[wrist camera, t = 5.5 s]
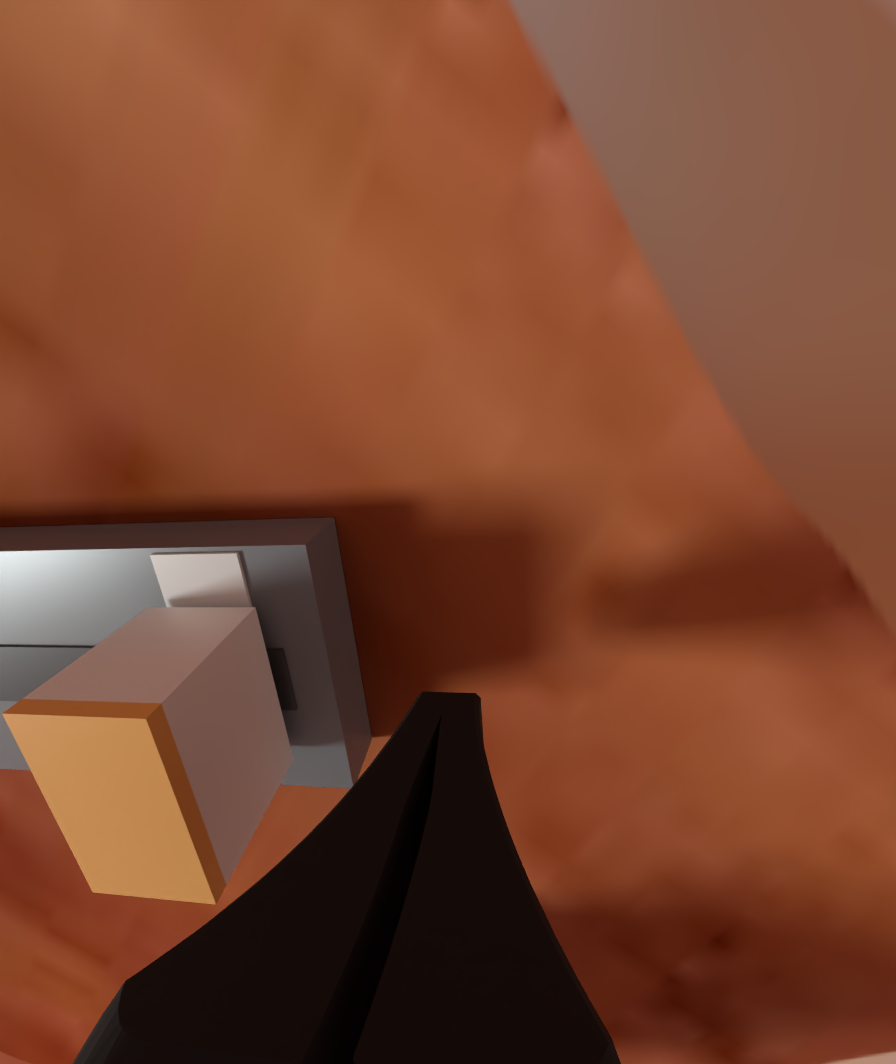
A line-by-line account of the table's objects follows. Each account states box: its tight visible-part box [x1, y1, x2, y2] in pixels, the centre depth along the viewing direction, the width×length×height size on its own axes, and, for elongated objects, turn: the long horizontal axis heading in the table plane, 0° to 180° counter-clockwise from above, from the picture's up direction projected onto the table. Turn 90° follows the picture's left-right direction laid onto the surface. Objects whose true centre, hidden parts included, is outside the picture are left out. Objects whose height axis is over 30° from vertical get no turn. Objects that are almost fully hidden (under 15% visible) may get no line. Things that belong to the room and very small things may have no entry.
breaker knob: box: [2, 607, 293, 904], centre depth 11 cm, size 3×5×4 cm, turn 5°
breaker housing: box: [0, 517, 372, 789], centre depth 15 cm, size 16×8×2 cm, turn 95°
